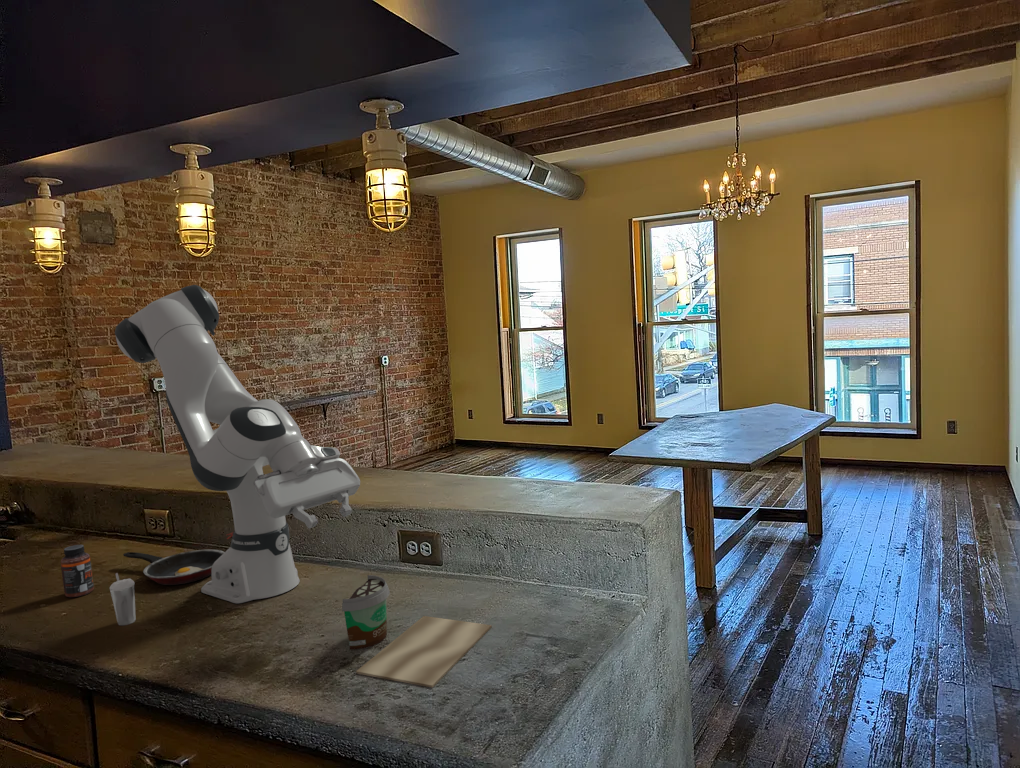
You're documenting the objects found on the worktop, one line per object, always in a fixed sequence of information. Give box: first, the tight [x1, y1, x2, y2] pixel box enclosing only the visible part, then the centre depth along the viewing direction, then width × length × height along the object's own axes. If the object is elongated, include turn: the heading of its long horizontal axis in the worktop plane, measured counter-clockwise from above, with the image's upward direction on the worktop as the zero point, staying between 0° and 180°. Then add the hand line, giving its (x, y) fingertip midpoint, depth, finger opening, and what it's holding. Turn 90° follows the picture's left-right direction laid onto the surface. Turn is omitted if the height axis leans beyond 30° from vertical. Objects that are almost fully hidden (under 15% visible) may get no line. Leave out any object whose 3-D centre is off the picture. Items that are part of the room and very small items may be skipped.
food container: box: [341, 574, 390, 651], centre depth 129 cm, size 12×6×10 cm, turn 168°
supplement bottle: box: [60, 544, 95, 598], centre depth 162 cm, size 6×6×11 cm
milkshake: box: [109, 572, 137, 627], centre depth 144 cm, size 4×5×10 cm
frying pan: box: [123, 549, 226, 586], centre depth 173 cm, size 19×32×4 cm, turn 65°
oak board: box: [355, 615, 493, 689], centre depth 123 cm, size 15×22×1 cm
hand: (331, 519), depth 133 cm, fingers open, 7 cm apart
